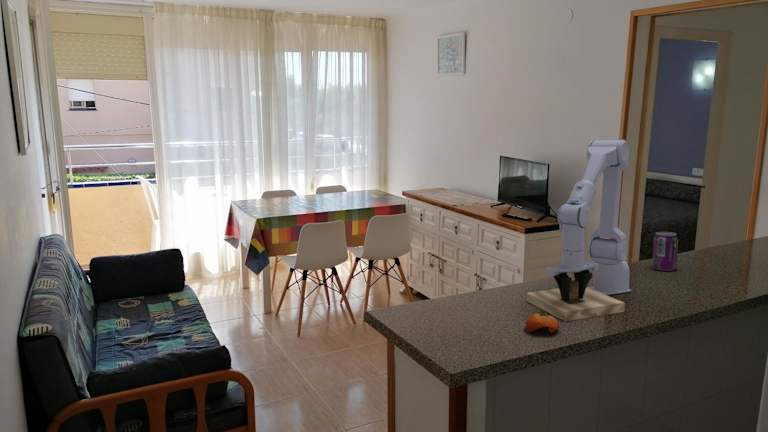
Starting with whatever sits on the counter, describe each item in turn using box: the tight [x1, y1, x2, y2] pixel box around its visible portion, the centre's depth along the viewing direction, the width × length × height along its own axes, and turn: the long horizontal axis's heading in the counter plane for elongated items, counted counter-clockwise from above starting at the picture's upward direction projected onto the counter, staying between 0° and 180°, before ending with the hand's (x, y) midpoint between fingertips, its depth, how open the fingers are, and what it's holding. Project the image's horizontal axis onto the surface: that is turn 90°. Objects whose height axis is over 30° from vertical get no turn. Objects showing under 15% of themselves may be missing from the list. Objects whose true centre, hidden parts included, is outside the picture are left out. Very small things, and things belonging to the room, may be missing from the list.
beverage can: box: [652, 231, 679, 272], centre depth 188 cm, size 7×7×12 cm
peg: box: [565, 279, 579, 304], centre depth 153 cm, size 4×4×7 cm
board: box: [526, 286, 626, 322], centre depth 156 cm, size 18×18×2 cm
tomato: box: [525, 309, 561, 335], centre depth 139 cm, size 8×7×7 cm
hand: (572, 299), depth 153 cm, fingers closed on peg, 4 cm apart
